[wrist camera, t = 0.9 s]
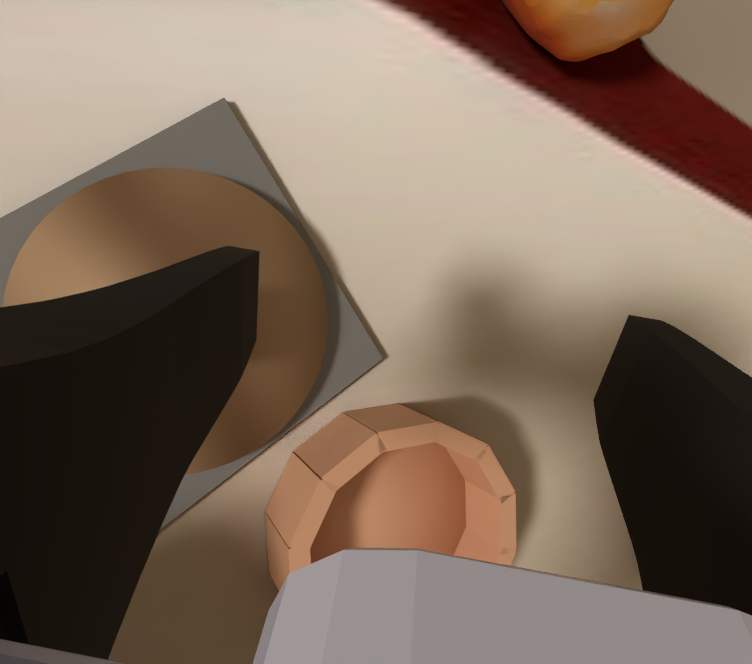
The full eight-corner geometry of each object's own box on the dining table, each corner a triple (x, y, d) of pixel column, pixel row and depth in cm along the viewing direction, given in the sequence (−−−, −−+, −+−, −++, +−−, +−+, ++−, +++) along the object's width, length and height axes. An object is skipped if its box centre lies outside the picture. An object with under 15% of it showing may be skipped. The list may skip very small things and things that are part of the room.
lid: (140, 528, 22) (146, 585, 18) (-76, 279, 18) (-128, 281, 14) (368, 355, 25) (416, 371, 21) (220, 116, 21) (244, 81, 17)
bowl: (346, 669, 26) (378, 724, 23) (218, 509, 23) (235, 547, 20) (502, 521, 29) (549, 551, 26) (407, 362, 26) (448, 374, 23)
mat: (136, 543, 22) (136, 547, 22) (-101, 274, 18) (-105, 274, 18) (379, 357, 25) (383, 358, 25) (222, 100, 22) (224, 97, 21)
